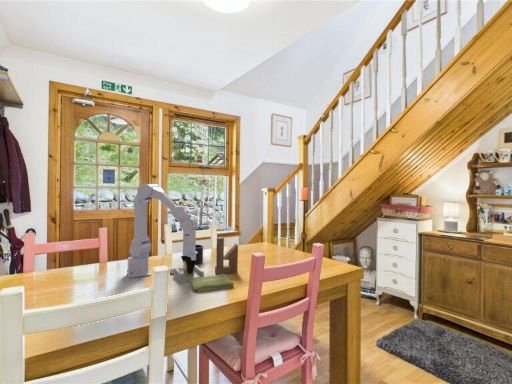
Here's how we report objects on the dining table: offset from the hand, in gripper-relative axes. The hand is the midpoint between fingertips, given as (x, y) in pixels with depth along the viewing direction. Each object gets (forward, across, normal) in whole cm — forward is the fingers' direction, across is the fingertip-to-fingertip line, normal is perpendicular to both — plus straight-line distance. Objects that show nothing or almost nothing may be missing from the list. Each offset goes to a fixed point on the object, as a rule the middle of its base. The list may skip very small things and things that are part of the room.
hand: (188, 272), depth 133 cm
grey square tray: (+3, 0, 0) cm, 3 cm away
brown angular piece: (+3, 0, -19) cm, 19 cm away
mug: (+3, +24, -11) cm, 27 cm away
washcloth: (+4, -14, -6) cm, 15 cm away
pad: (+3, +12, +1) cm, 12 cm away
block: (+1, 0, 0) cm, 1 cm away
